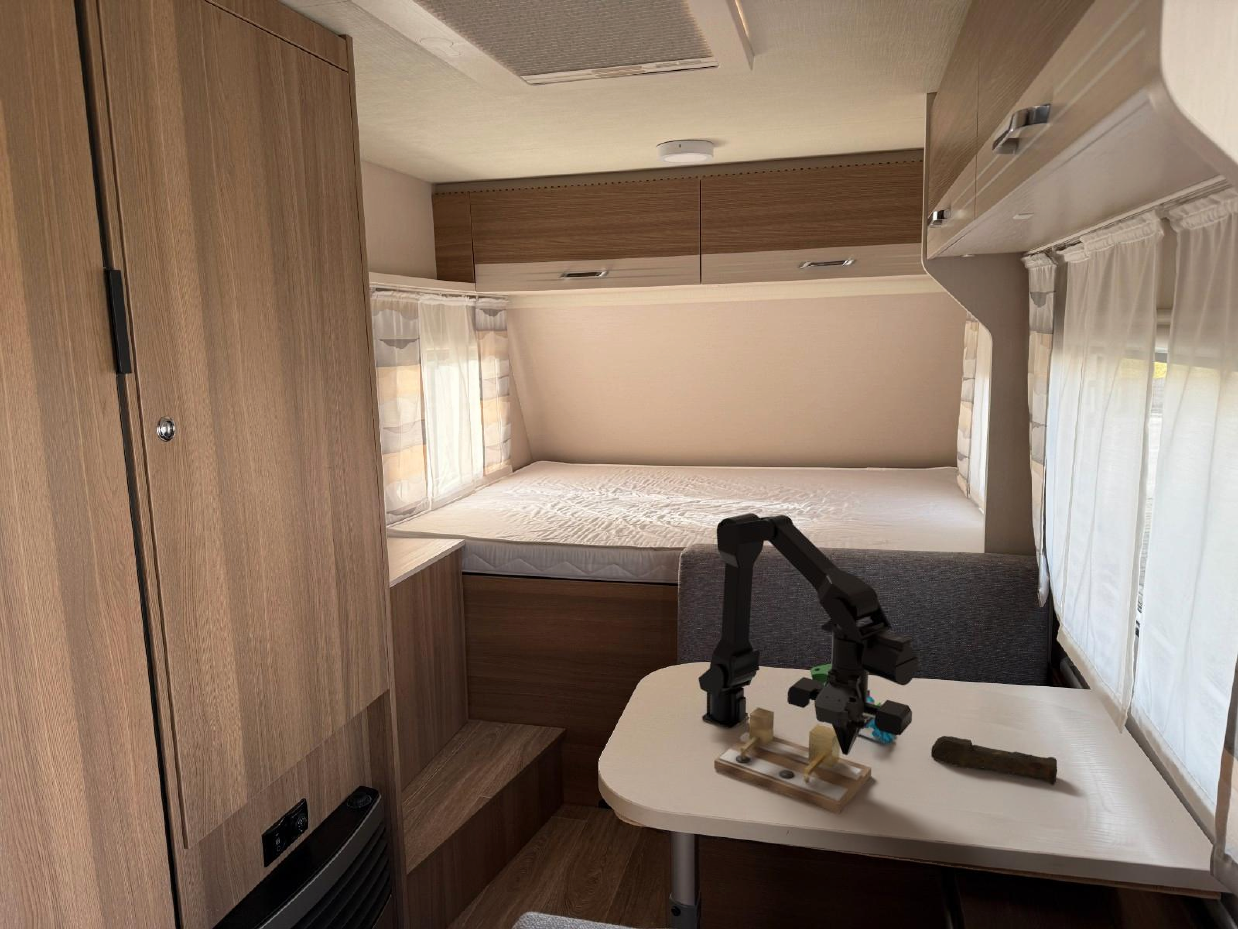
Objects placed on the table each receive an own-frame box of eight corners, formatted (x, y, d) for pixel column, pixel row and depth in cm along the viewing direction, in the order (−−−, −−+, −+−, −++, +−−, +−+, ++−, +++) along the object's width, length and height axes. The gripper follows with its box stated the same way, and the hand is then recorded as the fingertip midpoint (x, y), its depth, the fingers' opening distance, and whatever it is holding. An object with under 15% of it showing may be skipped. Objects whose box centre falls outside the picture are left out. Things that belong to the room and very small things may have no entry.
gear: (889, 746, 146) (851, 697, 149) (863, 764, 148) (826, 715, 151) (904, 728, 155) (867, 681, 158) (879, 744, 158) (843, 699, 161)
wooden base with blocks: (714, 768, 143) (714, 727, 141) (751, 737, 153) (752, 698, 152) (839, 813, 130) (841, 768, 128) (871, 776, 140) (872, 733, 138)
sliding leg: (794, 777, 136) (794, 745, 135) (816, 755, 143) (817, 724, 142) (817, 785, 134) (818, 752, 133) (839, 762, 140) (840, 731, 139)
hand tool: (1055, 776, 140) (1057, 750, 139) (1056, 788, 136) (1058, 761, 135) (933, 752, 148) (934, 727, 147) (930, 763, 144) (932, 738, 143)
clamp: (820, 713, 171) (808, 668, 173) (850, 707, 170) (838, 661, 172) (824, 718, 159) (811, 669, 162) (856, 711, 159) (843, 662, 161)
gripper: (773, 665, 134) (770, 757, 137) (890, 697, 123) (885, 796, 126) (803, 643, 143) (800, 729, 145) (915, 670, 132) (910, 763, 134)
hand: (846, 753), depth 138 cm, fingers closed
